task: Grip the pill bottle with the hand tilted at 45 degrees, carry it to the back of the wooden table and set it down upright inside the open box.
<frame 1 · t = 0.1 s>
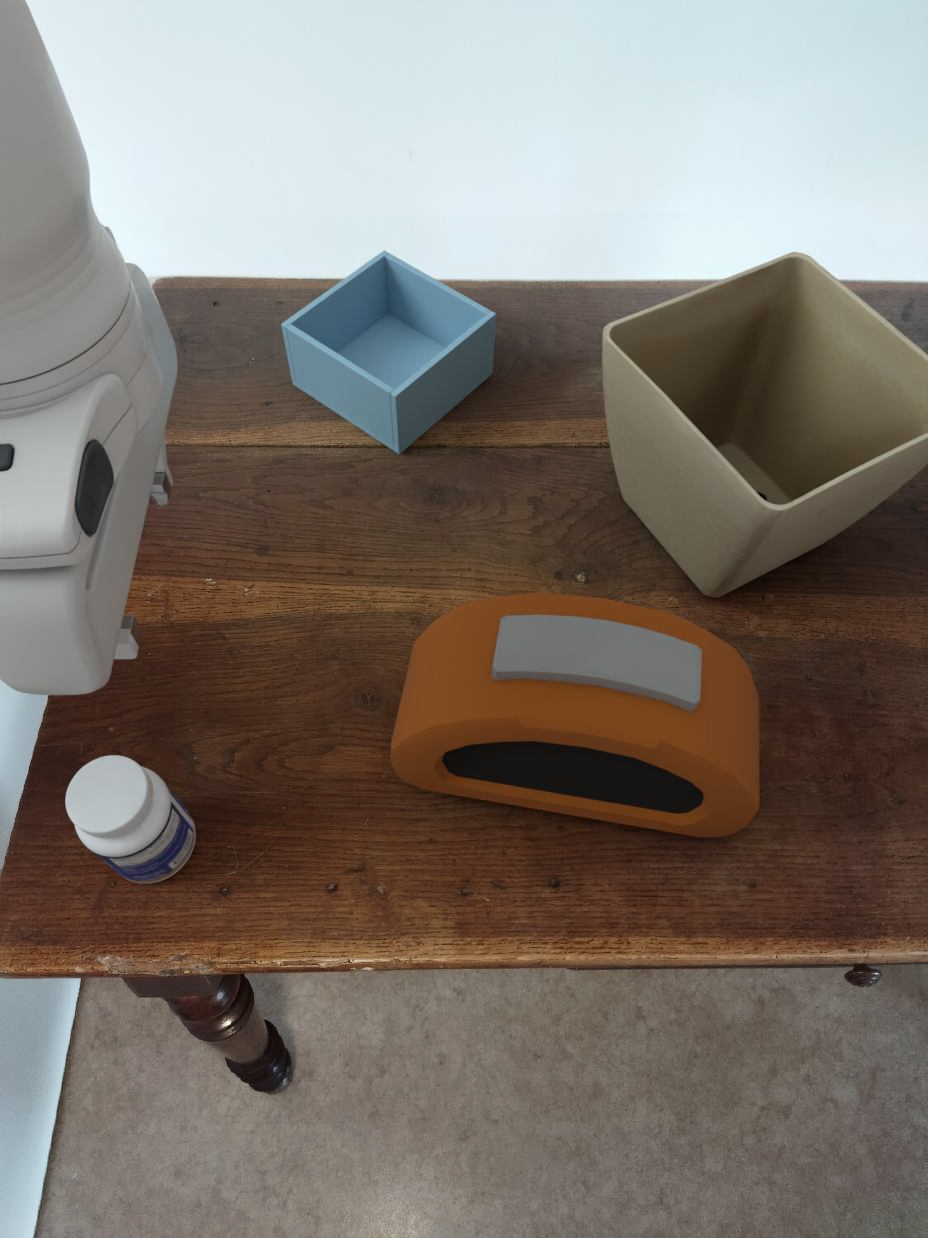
hand: (141, 566, 46), 21 cm above the table, tool pointing down, fingers open, 8 cm apart
flower pot: (722, 518, 75), on the table
open box: (393, 379, 82), on the table
alarm clock: (565, 762, 63), on the table
pill bottle: (155, 844, 60), on the table
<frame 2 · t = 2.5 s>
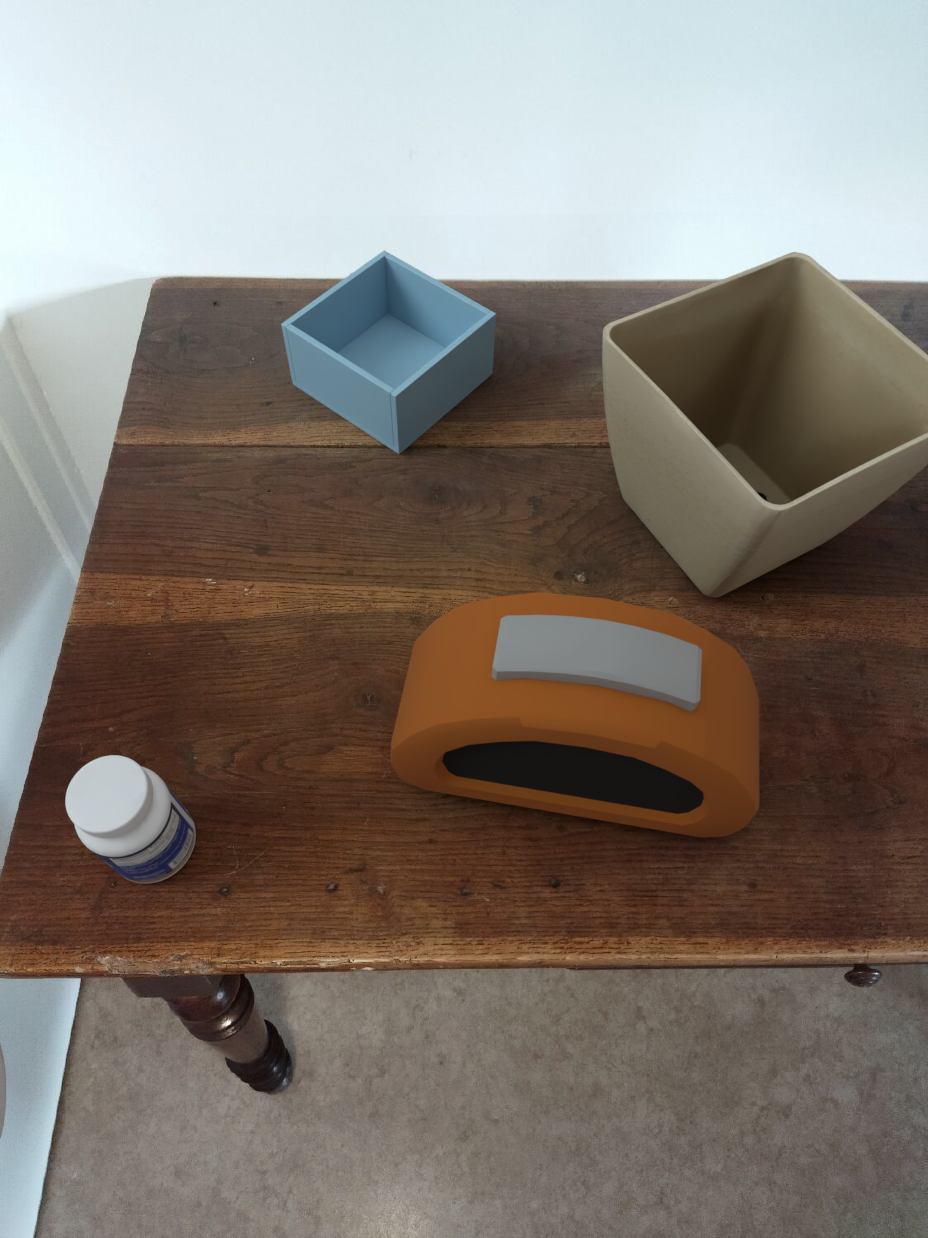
nothing on the table moved.
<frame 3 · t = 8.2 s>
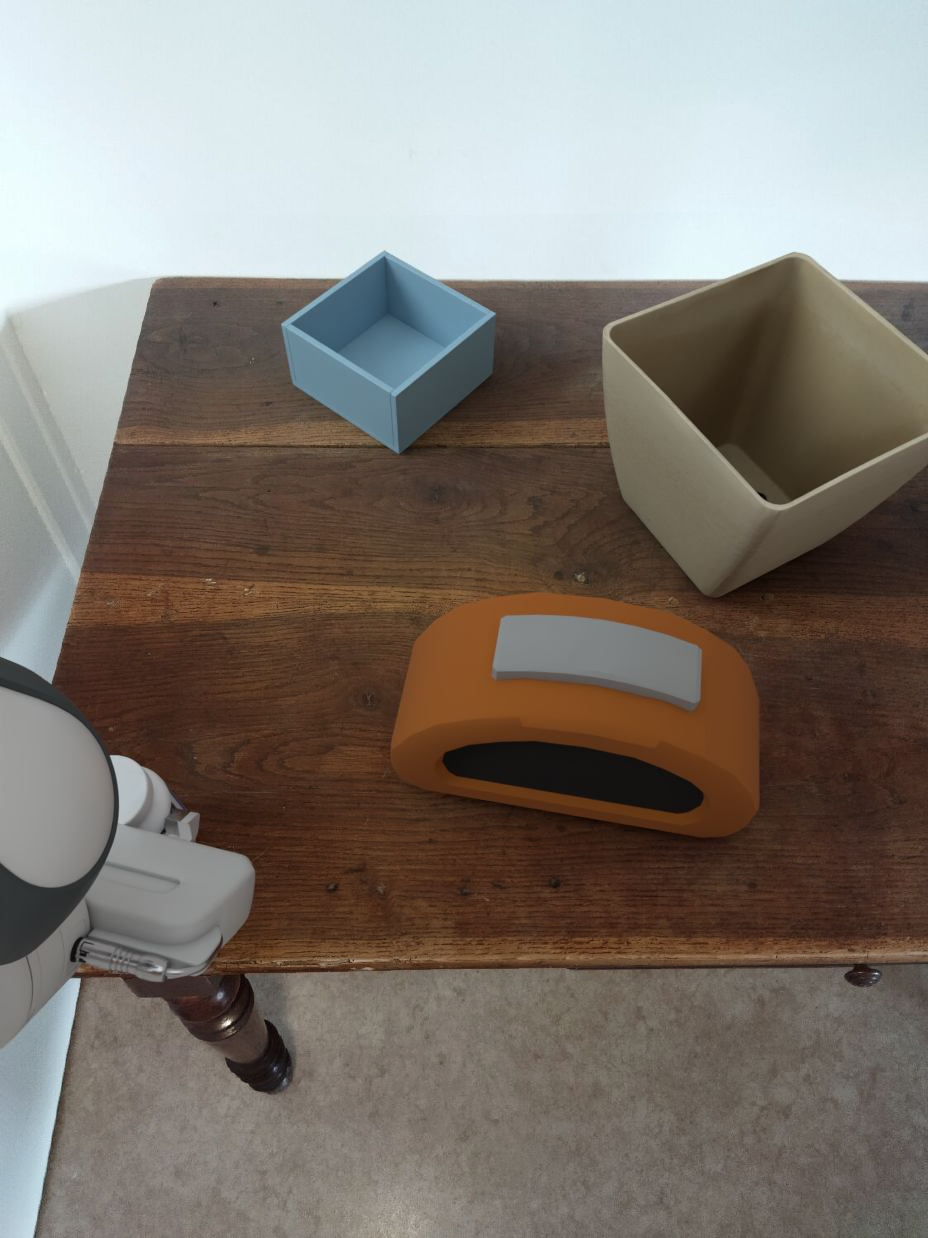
hand: (134, 807, 55), 5 cm above the table, tool tilted 45°, fingers closed on pill bottle, 6 cm apart
pill bottle: (155, 844, 60), on the table, touching gripper
everything else where it was.
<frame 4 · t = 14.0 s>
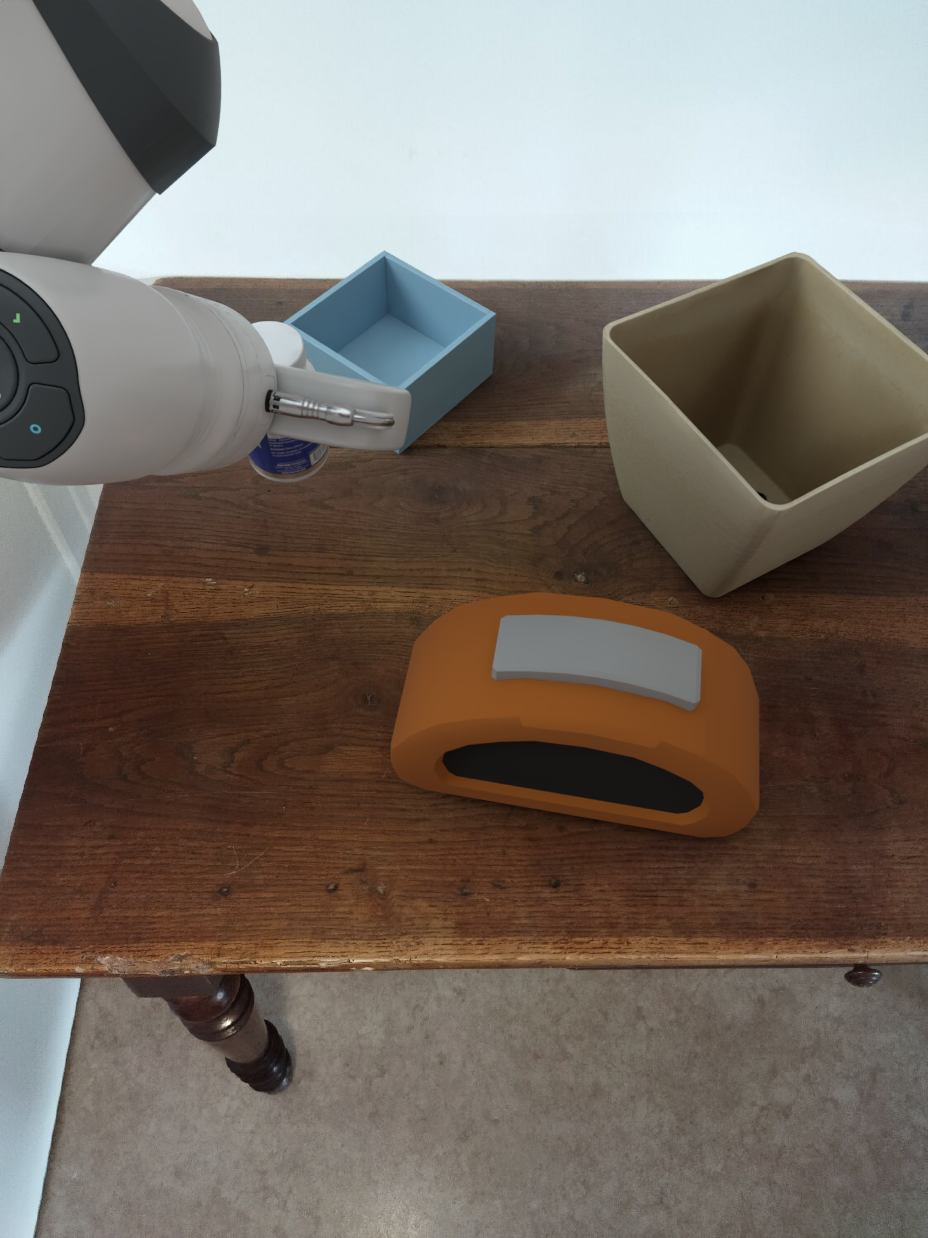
hand: (280, 392, 59), 16 cm above the table, tool tilted 45°, fingers closed on pill bottle, 6 cm apart
pill bottle: (290, 456, 63), point 11 cm above the table, touching gripper
everything else where it was.
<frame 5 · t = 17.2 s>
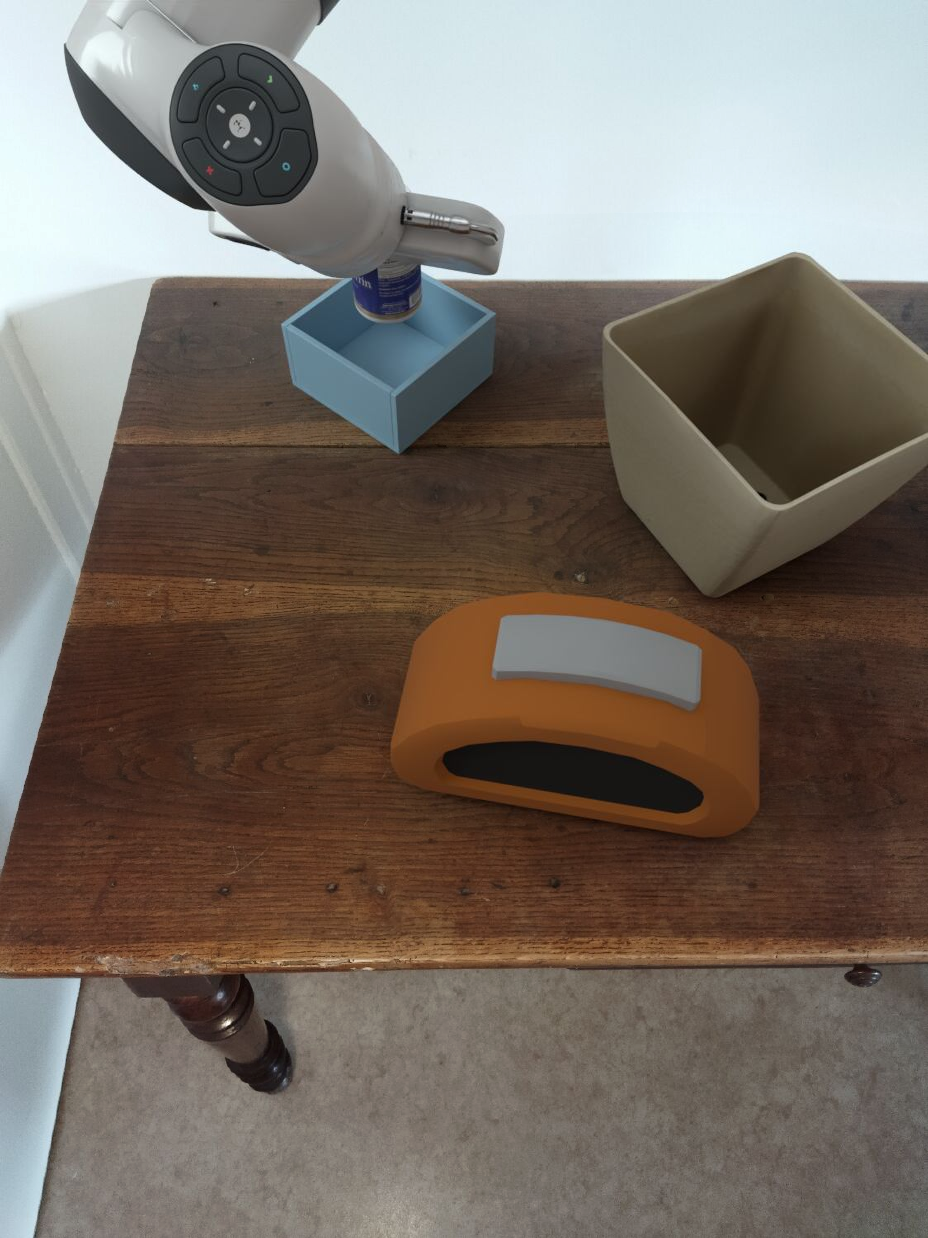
hand: (386, 243, 71), 14 cm above the table, tool tilted 45°, fingers closed on pill bottle, 6 cm apart
pill bottle: (388, 305, 75), point 9 cm above the table, touching gripper
everything else where it was.
when the fingers open (6 cm above the table, at t = 20.0 s): pill bottle stays where it is, resting on open box.
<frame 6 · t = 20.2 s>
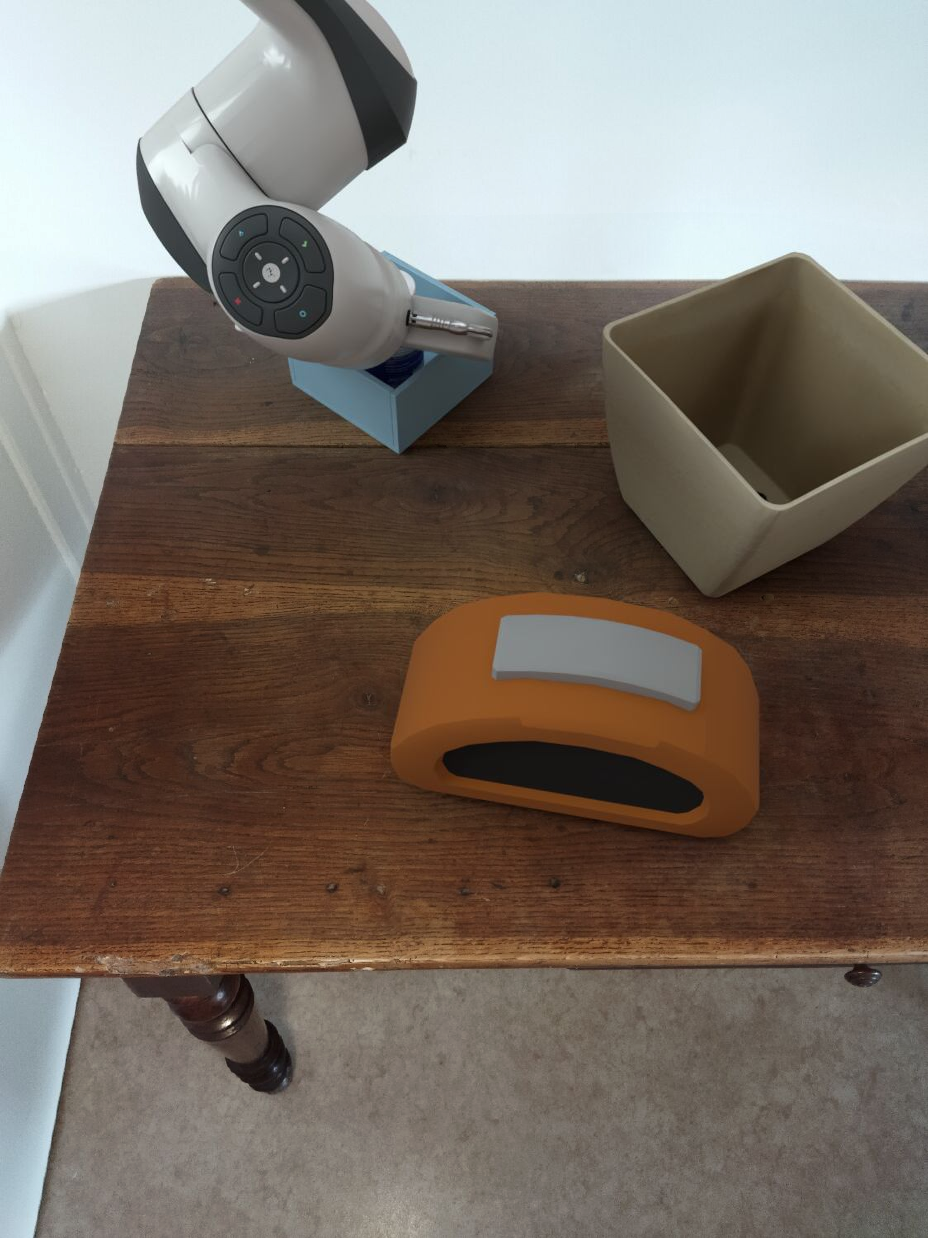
hand: (391, 325, 78), 6 cm above the table, tool tilted 45°, fingers open, 7 cm apart
pill bottle: (393, 376, 82), resting on open box
everything else where it was.
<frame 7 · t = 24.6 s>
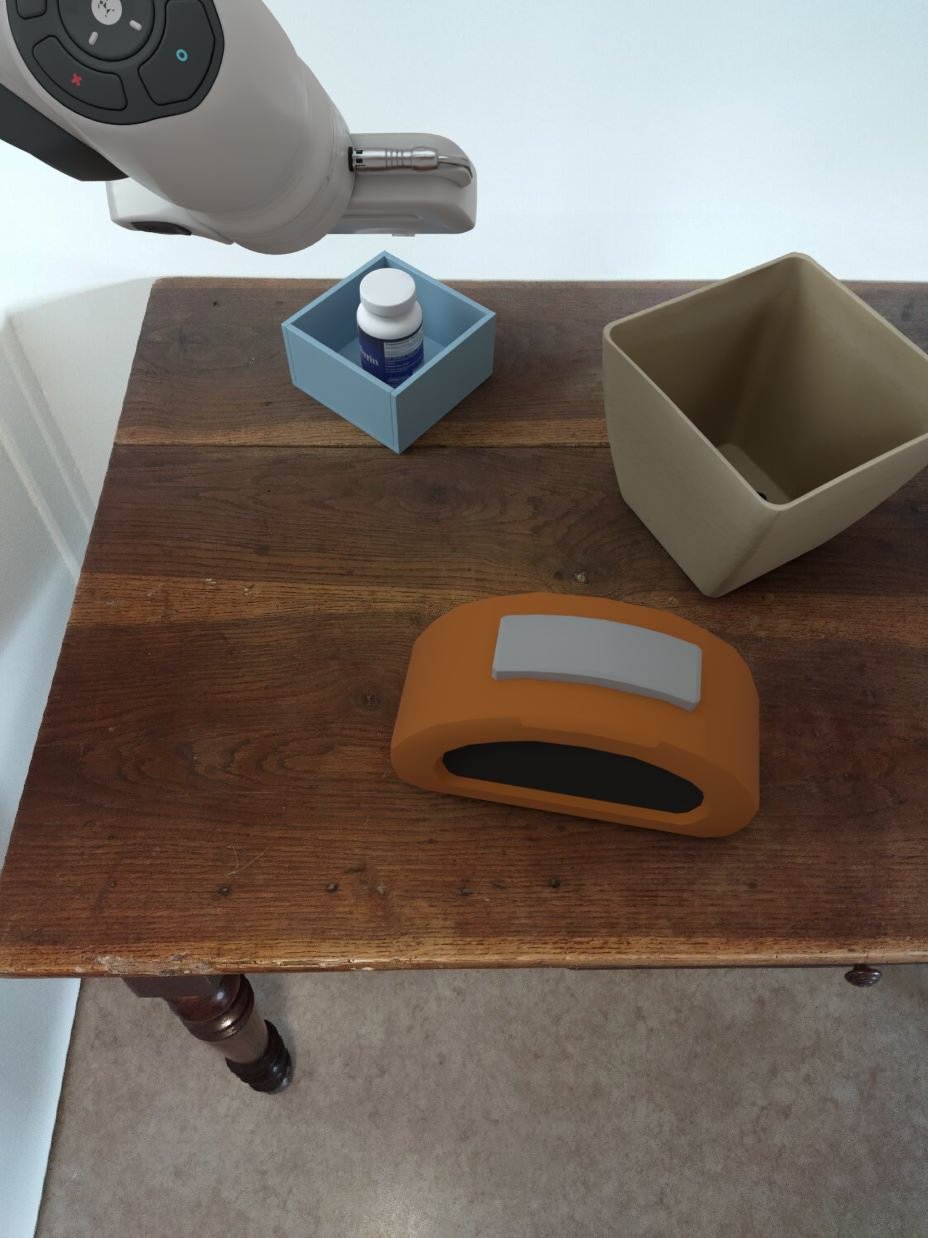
hand: (334, 223, 59), 22 cm above the table, tool tilted 45°, fingers open, 8 cm apart
nothing on the table moved.
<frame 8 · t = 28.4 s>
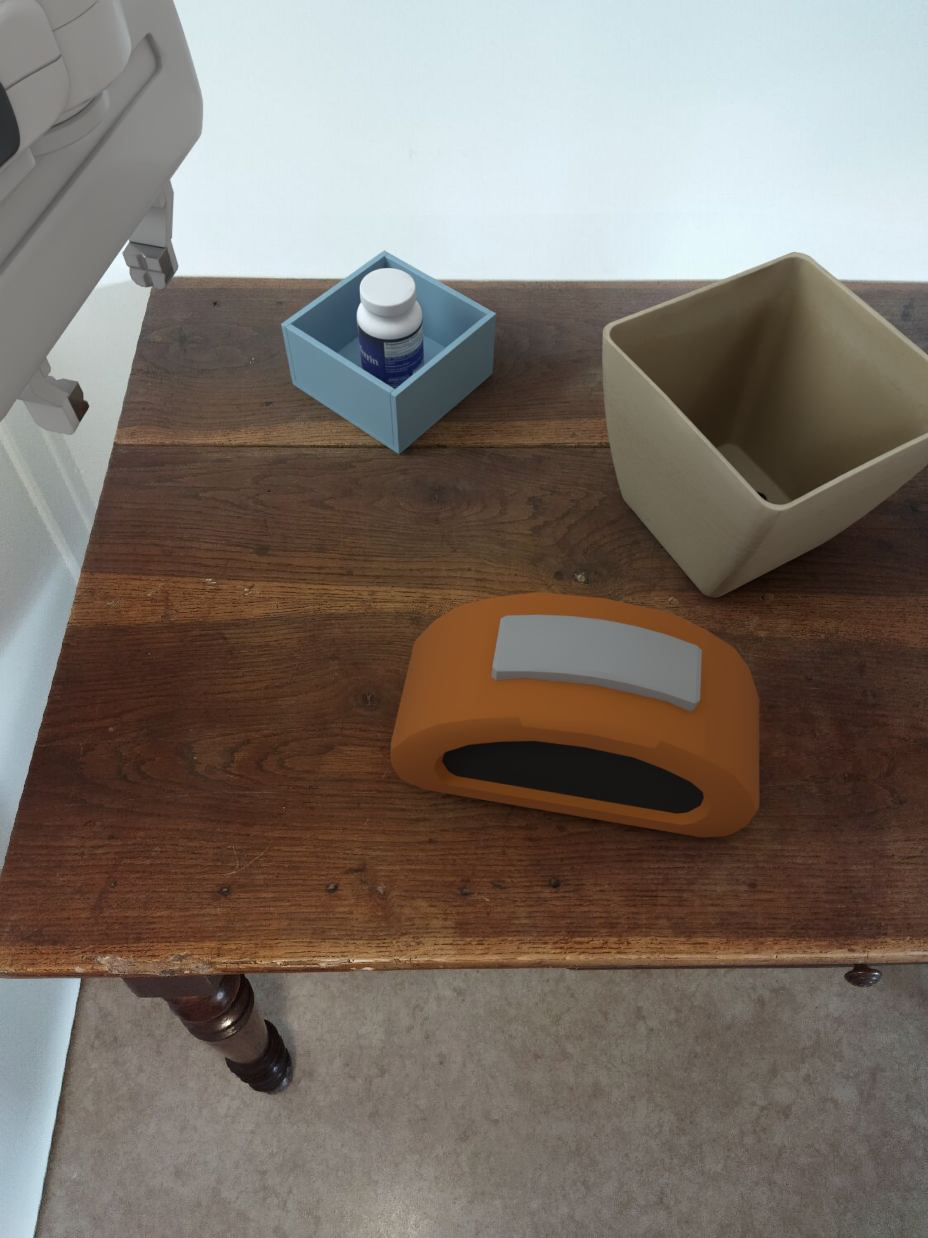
hand: (114, 345, 40), 31 cm above the table, tool pointing down, fingers open, 8 cm apart
nothing on the table moved.
at the end: pill bottle inside the target area in the open box (0.1 cm from its centre), point 0.3 cm above the open box's base; pill bottle tilted 0°; the gripper is holding nothing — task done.
